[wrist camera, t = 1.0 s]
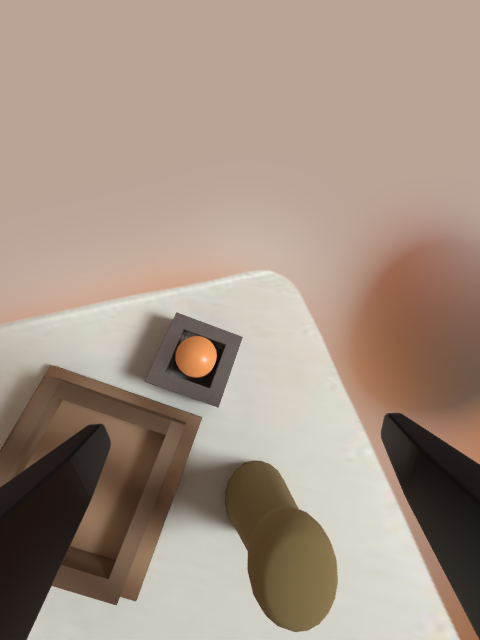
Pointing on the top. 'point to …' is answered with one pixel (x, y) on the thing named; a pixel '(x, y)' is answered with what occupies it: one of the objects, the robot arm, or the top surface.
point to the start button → (196, 356)
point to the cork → (282, 548)
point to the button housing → (167, 357)
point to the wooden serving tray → (107, 476)
